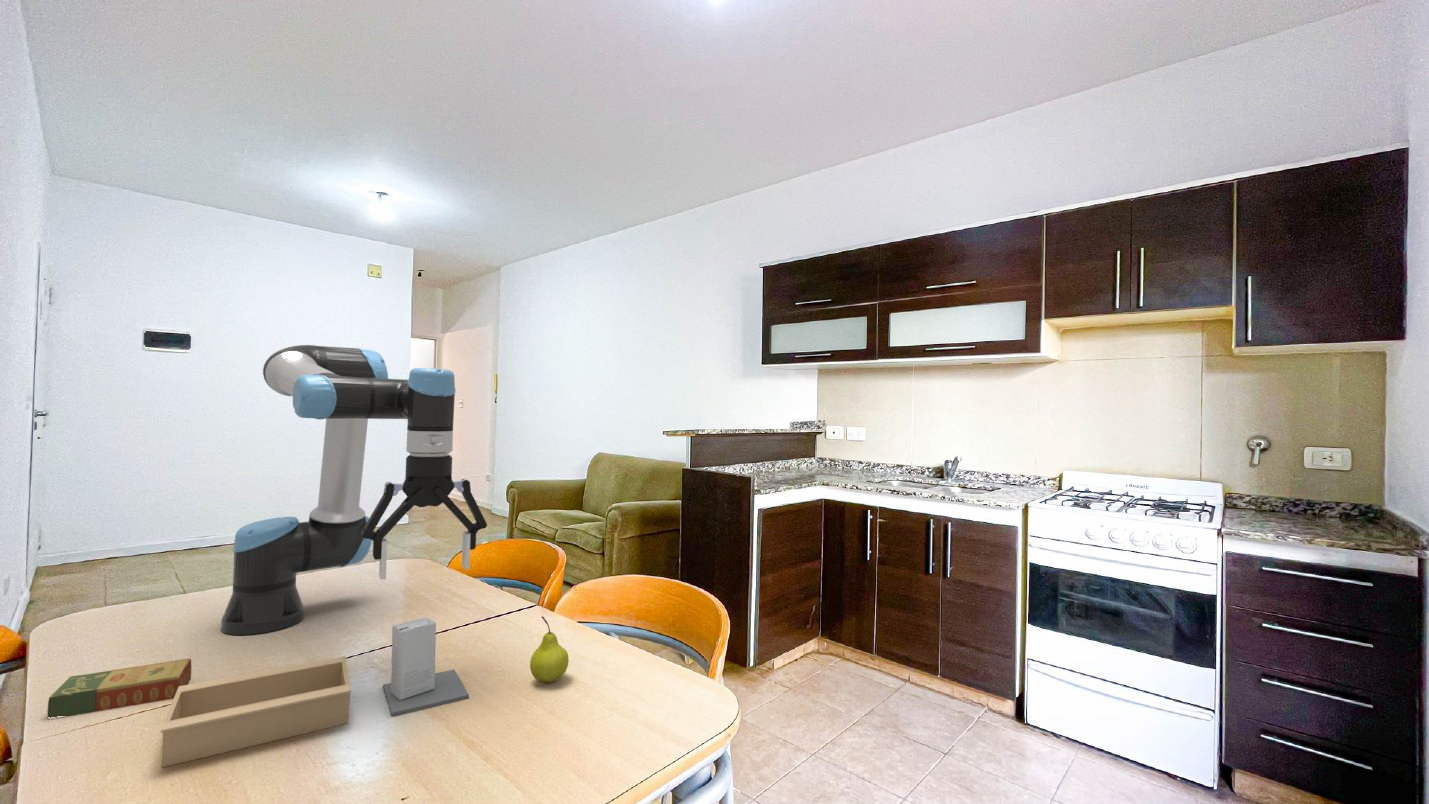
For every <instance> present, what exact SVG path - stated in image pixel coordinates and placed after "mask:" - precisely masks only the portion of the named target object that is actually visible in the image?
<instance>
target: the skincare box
mask: <svg viewBox="0 0 1429 804" xmlns="http://www.w3.org/2000/svg"><path fill="white" fill-rule="evenodd" d="M391 627H392V628H391V629H392V630H391V680H390V681H391V682H390V683H391V692H392V693H393V694H394V696H396V697H397V698H398V699H399V700H402V699H406V698H409V697H412V696H415V695H418V694H421V693H424V692H427V691H430V690H433V689H434V688H435V673H436V649H437V647H436V645H437V644H436V643H437V642H436V641H437V637H436V635H437V629H436V627H437V623H436V622H435V621H434V620H432V619H431V618H429V617H428V616H427V617H421V618H417V619H413V620H408V621H405V622H401V623H396V624H393V625H392V626H391Z"/></svg>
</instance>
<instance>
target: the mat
mask: <svg viewBox="0 0 1429 804" xmlns="http://www.w3.org/2000/svg"><path fill="white" fill-rule="evenodd" d="M382 688H383V692H384V696H385V699H386V703H387V706H388V710H389V713H390V716H391V718H393V717H396V716H400V715H404V714H409V713H414V712H417V711H422V710H425V709H429V708H434V707H437V706H443V705H446V704H449V703H450V704H451V703H454V702H458V701H462V700H466V699H470V694H469V692H468V690H467V688H466V687H465V685H464V683H463V681H462V680H461V678H460V676H459V675H458V674H457V672H456V670H455V669H449V670H444V671H440V672H435V688H434V689H433V690H430V691H427V692H424V693H421V694H418V695H415V696H412V697H409V698H406V699H402V700H399V699H398V698H397V697H396V696H394V694H393V693H392V692H391V682H388V683H384V684H382Z"/></svg>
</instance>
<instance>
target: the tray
mask: <svg viewBox="0 0 1429 804" xmlns="http://www.w3.org/2000/svg"><path fill="white" fill-rule="evenodd" d="M350 684H351V683H350V678H349V673H348V668H347V660H346V656H345V655H344V656H337V657H334V658H332V657H331V658H327V659H321V660H315V661H310V662H305V663H301V664H300V663H298V664H295V665H290V666H289V665H287V666H283V667H278V668H273V669H267V670H262V671H256V672H250V673H245V674H244V673H243V674H239V675H234V676H227V677H223V678H217V679H211V680H206V681H201V682H195V683H190V684H189V683H188V684H187V685H184V686H179V687H178V689H177V692H176V694H175V697H174V698H173V700H172V702H171V704H170V707H169V709H168V711H167V714H166V716H165V718H164V721H163V723H162V727H161V728H160V733H162V746H161V747H162V750H161V753H162V754H161V768H165V767H169V766H173V765H174V766H175V765H177V764H182V763H185V762H191V761H194V760H199V759H202V758H207V757H211V756H216V755H220V754H224V753H227V752H228V753H229V752H232V751H236V750H240V749H244V748H248V747H254V746H257V745H261V744H266V743H268V742H270V743H271V742H275V741H278V740H283V739H286V738H292V737H295V736H299V735H304V734H309V733H313V732H317V731H320V730H325V729H329V728H332V727H333V728H334V727H336V726H337V727H338V726H341V725H347V724H349V722H350V700H351V699H350V698H351V695H350V694H351V692H352V688H351V685H350Z"/></svg>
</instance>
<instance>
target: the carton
mask: <svg viewBox="0 0 1429 804" xmlns="http://www.w3.org/2000/svg"><path fill="white" fill-rule="evenodd" d="M191 679H192V659H191V658H184V659H177V660H171V661H166V662H165V661H164V662H157V663H152V664H145V665H138V666H132V667H126V668H119V669H113V670H105V671H98V672H94V673H92V672H91V673H86V674H81V675H79V674H78V675H71V676H68V678H67V679H66V680H65V681H64V682H63V684H61V685H60V686H59V687H58V688H57V689H56V690H55V691H54V692H53V693H51V694H50V695H49V697H48V700H47V701H48V702H47V718H48V717H50V718H51V717H57V716H68V717H72V716H76V715H77V716H78V714H79V715H84V714H89V713H95V712H101V711H107V710H113V709H119V708H125V707H131V706H137V705H142V704H149V703H156V702H160V701H161V702H162V701H167V700H172V699H174V697H175V694H176V692H177V689H178V687H179V686H184V685H189V683H190V681H191Z"/></svg>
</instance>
